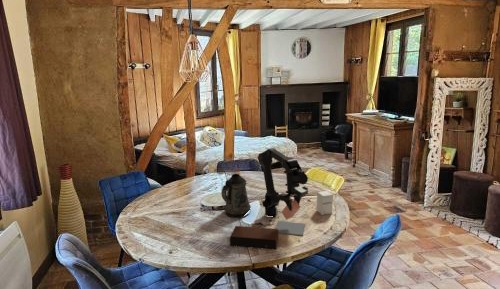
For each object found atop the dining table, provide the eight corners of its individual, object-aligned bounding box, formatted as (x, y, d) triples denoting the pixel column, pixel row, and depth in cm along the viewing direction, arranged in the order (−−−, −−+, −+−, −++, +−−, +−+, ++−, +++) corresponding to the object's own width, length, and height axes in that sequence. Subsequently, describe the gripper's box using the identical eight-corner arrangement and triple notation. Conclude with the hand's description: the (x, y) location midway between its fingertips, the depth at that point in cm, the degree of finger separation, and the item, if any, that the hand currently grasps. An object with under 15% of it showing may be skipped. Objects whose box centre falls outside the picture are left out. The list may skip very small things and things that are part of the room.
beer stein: (253, 208, 217) (253, 171, 211) (245, 221, 198) (244, 181, 193) (229, 206, 221) (228, 169, 216) (219, 218, 203) (217, 179, 197)
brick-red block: (281, 212, 190) (289, 201, 184) (287, 209, 193) (295, 199, 187) (286, 219, 187) (294, 209, 181) (292, 217, 190) (300, 207, 184)
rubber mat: (273, 232, 184) (273, 231, 184) (277, 221, 197) (277, 220, 197) (302, 235, 180) (302, 234, 180) (305, 224, 194) (305, 223, 193)
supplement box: (321, 215, 206) (322, 195, 203) (316, 210, 213) (316, 191, 210) (332, 213, 208) (333, 194, 205) (326, 209, 215) (327, 190, 212)
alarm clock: (278, 239, 178) (278, 228, 177) (276, 250, 167) (276, 239, 166) (235, 235, 182) (234, 225, 181) (230, 246, 171) (229, 236, 170)
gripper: (290, 187, 171) (292, 216, 173) (314, 180, 183) (316, 207, 185) (275, 184, 180) (277, 212, 182) (299, 177, 192) (301, 204, 193)
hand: (293, 209), depth 185 cm, fingers closed on brick-red block, 5 cm apart
